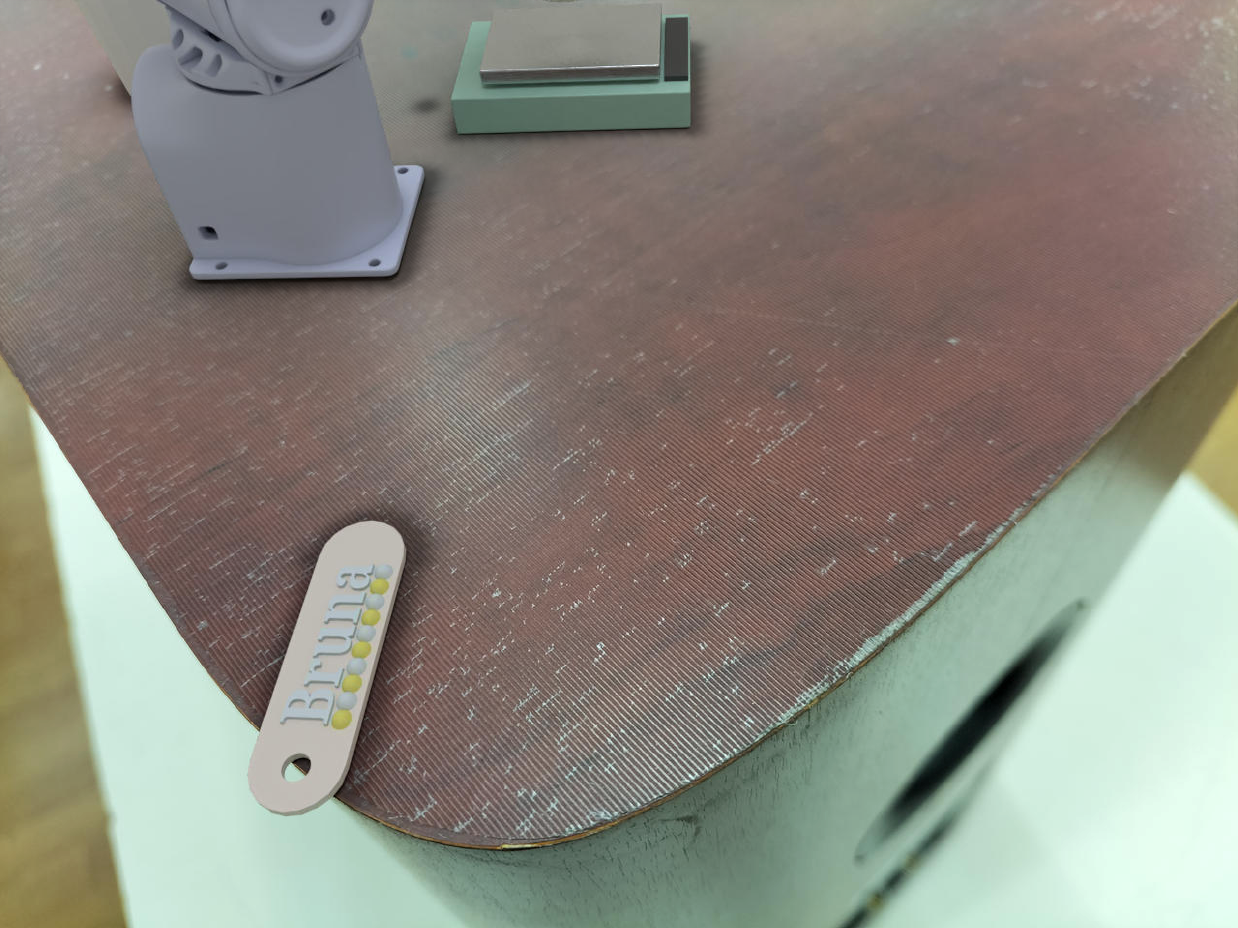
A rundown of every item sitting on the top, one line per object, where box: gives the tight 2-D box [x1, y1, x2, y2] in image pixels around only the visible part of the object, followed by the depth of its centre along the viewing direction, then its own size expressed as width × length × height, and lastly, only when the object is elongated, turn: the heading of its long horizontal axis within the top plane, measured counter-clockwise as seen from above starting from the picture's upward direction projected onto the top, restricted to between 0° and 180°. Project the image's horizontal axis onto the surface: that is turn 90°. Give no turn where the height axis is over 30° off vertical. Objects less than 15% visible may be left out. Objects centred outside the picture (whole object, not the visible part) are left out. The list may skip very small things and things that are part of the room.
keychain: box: [246, 520, 407, 817], centre depth 32 cm, size 10×1×3 cm
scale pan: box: [479, 3, 663, 85], centre depth 52 cm, size 9×6×1 cm
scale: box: [450, 13, 692, 135], centre depth 53 cm, size 12×8×2 cm, turn 88°
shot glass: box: [74, 0, 171, 97], centre depth 55 cm, size 7×7×7 cm
